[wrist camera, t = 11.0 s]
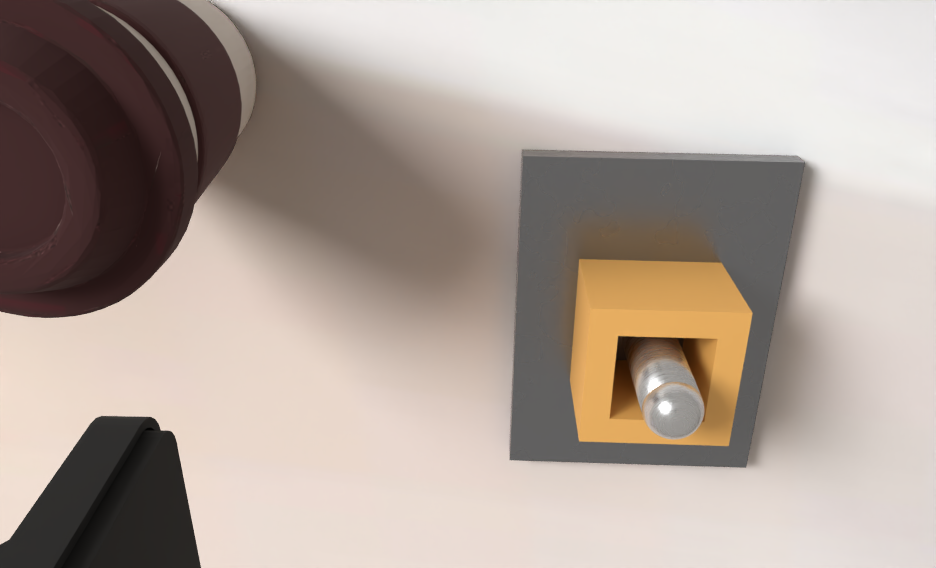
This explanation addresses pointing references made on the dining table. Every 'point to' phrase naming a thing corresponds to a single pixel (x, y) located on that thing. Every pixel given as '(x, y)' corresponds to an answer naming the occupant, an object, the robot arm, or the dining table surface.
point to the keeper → (642, 239)
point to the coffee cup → (108, 141)
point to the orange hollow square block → (655, 315)
